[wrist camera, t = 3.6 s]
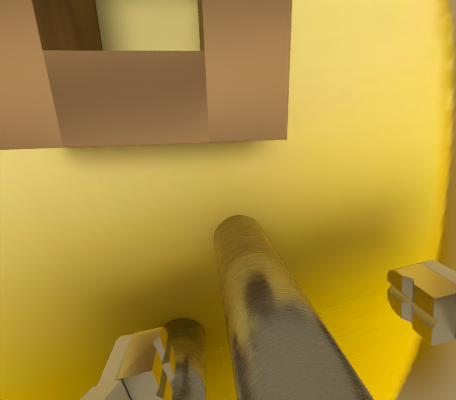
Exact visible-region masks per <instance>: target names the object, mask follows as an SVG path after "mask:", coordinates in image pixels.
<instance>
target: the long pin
mask: <svg viewBox="0 0 456 400" xmlns="http://www.w3.org/2000/svg"><path fill="white" fill-rule="evenodd" d="M214 242H215V249H216V256H217V263H218V270H219V277H220V284H221V291H222V297H223V304H224V311H225V318H226V325H227V332H228V339H229V346H230V352H231V359H232V366H233V373H234V380H235V387H236V394H237V400H374V399H373V398H372V396H371V394H370V393H369V391H368V390H367V388H366V387H365V385H364V384H363V382H362V381H361V379H360V378H359V376H358V375H357V373H356V372H355V370H354V369H353V367H352V366H351V364H350V363H349V361H348V360H347V358H346V357H345V355H344V354H343V352H342V351H341V349H340V348H339V346H338V344H337V343H336V341H335V340H334V338H333V337H332V335H331V334H330V332H329V331H328V329H327V328H326V326H325V325H324V323H323V322H322V320H321V319H320V317H319V316H318V314H317V313H316V311H315V310H314V308H313V307H312V305H311V304H310V302H309V301H308V299H307V298H306V296H305V294H304V293H303V291H302V290H301V288H300V287H299V285H298V284H297V282H296V281H295V279H294V278H293V276H292V275H291V273H290V272H289V270H288V269H287V267H286V266H285V264H284V263H283V261H282V260H281V258H280V257H279V255H278V254H277V252H276V251H275V249H274V247H273V246H272V244H271V243H270V241H269V240H268V238H267V237H266V235H265V234H264V232H263V231H262V229H261V228H260V226H259V225H258V223H257V222H256V221H254V220H253V219H251V218H249V217H246V216H233V217H230V218H228V219H226V220H225V221H223V222H222V223H221V224H220V225H219V226H218V228H217V230H216V232H215V236H214Z"/></svg>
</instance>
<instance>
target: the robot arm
mask: <svg viewBox="0 0 456 400" xmlns="http://www.w3.org/2000/svg"><path fill="white" fill-rule="evenodd" d="M387 281H388V282H389V283H390V284H391V286H390V287H389V289H388V290H387V295H388V300H389V303H390V305H391V307H392V308H393V310H394V311H395V312H396V313H397V314H398V315H399V316H400V317H401V318H402V319H405V320H407V321H410V322H411V323H412V328H413V329H414V330H415V331H416V332H417V333H418V334H419V335H420V336H421V337H422V338H423V339H424V340H425V341H427V342H428V343H429V344H430V345H431V346H432V345H437V344H441V343H445V342H450V341H454V340H456V272H455V271H453V270H452V269H450V268H448V267H446V266H444V265H442V264H440V263H439V262H437V261H434V260H427V261H423V262H420V263H416V264H413V265H409V266H405V267H401V268H397V269H393V270H389V272H388V274H387ZM167 338H168V334H167V331H166V329H165V327H158V328H154V329H149V330H145V331H140V332H136V333H133V334H128V335H123V336H120V337H119V338H118V339H117V340H116V342H115V344H114V347H113V349H112V351H111V354H110V356H109V358H108V361H107V363H106V366H105V368H104V370H103V373H102V375H101V378H100V380H99V382H98V385H97V386H93V387H92V388H91V389H90V390H89V391H88V392H87V393H86V394H85V395H84V396H83V397H82V398H81V399H80V400H172V392H173V391H172V388H171V385H170V382H171V381H172V379H173V378H174V374H175V356H174V351H173V348H172V345H171V344H169V343H168V342H167Z"/></svg>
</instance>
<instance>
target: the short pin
mask: <svg viewBox="0 0 456 400" xmlns="http://www.w3.org/2000/svg"><path fill="white" fill-rule="evenodd" d="M165 329H166V331H167V334H168V338H167V342H168V343H169V344H171V345H172V348H173V351H174V356H175V374H174V378H173V379H172V381H171V382H170V385H171V388H172V391H173V392H172V400H206V373H205V335H204V330H203V328H202V327H201V325H200V324H199V323H197V322H195V321H193V320H190V319H177V320H174V321H171V322H170V323H168V324H167V325H166V326H165Z"/></svg>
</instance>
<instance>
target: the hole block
mask: <svg viewBox="0 0 456 400" xmlns="http://www.w3.org/2000/svg"><path fill="white" fill-rule="evenodd" d="M198 13H199V32H200V50H201V51H102V45H101V39H100V32H99V26H98V19H97V13H96V6H95V0H0V150H8V149H36V148H64V147H92V146H121V145H149V144H177V143H205V142H234V141H262V140H287V122H288V95H289V68H290V41H291V14H292V0H198Z"/></svg>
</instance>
